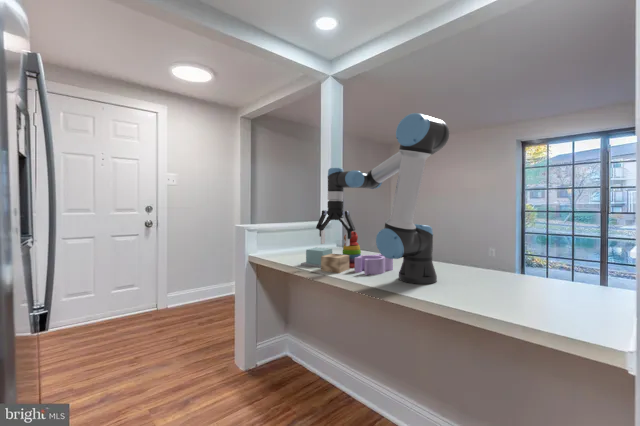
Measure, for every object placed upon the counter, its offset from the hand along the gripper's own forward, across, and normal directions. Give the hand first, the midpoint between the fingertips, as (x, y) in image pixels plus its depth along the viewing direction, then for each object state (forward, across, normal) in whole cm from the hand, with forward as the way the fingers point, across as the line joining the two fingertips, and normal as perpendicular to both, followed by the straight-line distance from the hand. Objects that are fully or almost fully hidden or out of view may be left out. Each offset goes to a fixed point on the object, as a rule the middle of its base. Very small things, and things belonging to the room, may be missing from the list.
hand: (334, 244), depth 152 cm
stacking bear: (+12, -2, -13) cm, 18 cm away
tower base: (+12, +14, -8) cm, 20 cm away
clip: (+12, -18, -8) cm, 23 cm away
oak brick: (+12, 0, 0) cm, 12 cm away
